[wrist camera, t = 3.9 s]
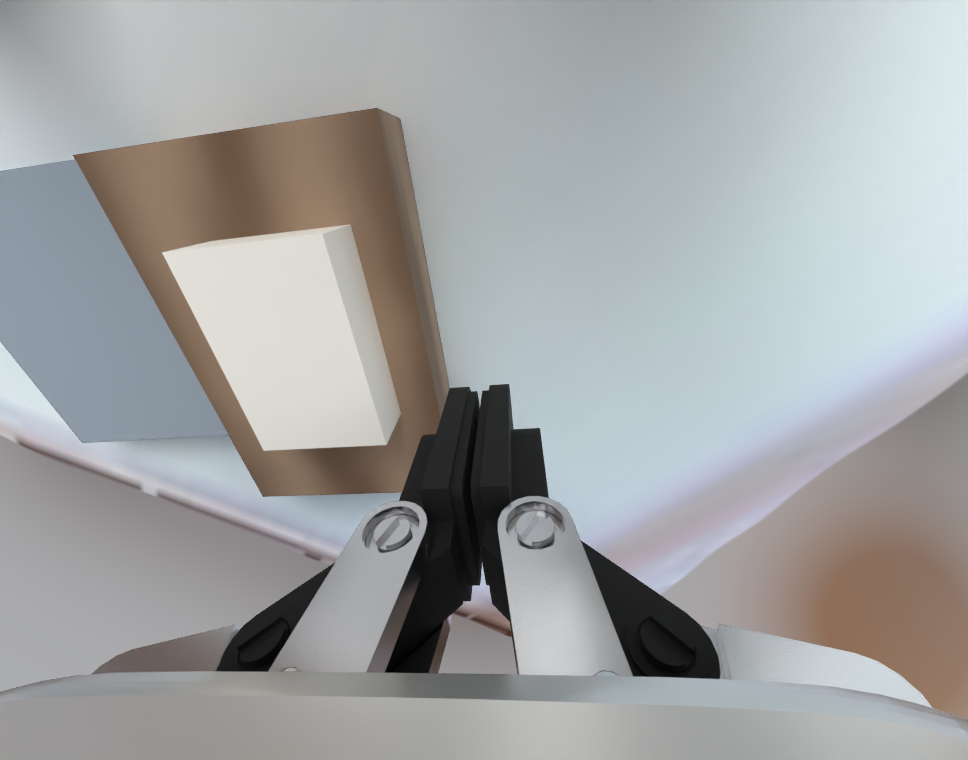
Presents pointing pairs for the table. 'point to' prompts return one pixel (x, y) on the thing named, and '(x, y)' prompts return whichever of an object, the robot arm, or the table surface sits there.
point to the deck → (276, 209)
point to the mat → (89, 316)
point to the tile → (293, 335)
